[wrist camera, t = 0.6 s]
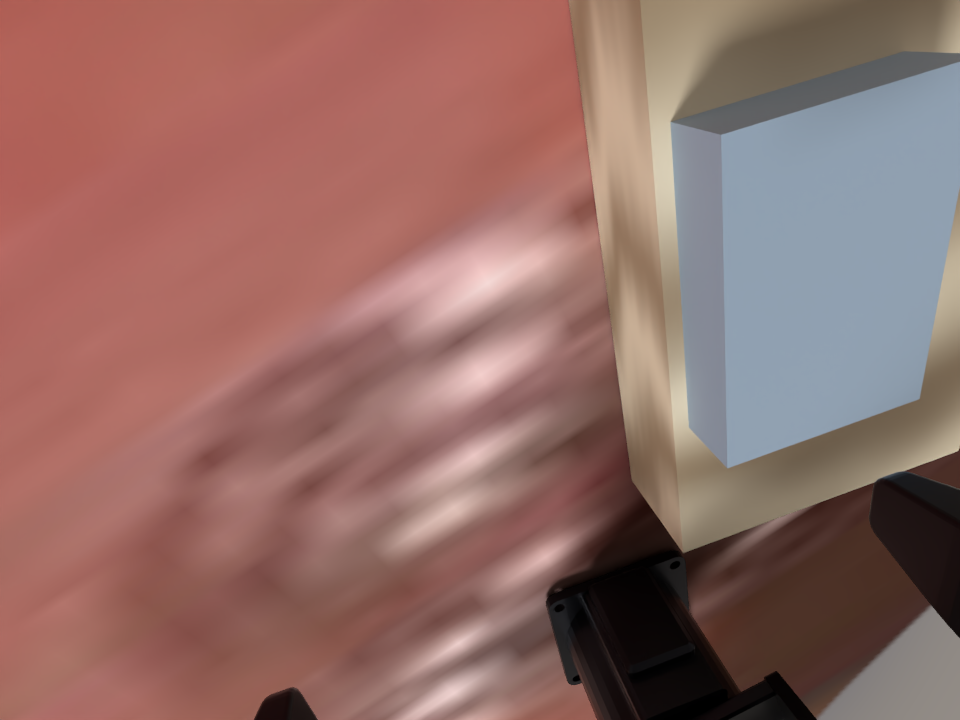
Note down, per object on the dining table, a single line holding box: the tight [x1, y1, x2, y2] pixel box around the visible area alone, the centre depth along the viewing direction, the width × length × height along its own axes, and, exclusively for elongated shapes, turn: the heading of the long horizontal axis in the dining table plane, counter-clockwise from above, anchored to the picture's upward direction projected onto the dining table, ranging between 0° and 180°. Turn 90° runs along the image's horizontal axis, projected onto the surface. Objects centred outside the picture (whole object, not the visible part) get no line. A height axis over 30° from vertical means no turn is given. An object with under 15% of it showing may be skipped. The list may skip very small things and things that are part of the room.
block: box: [670, 51, 960, 468], centre depth 15 cm, size 9×6×2 cm, turn 13°
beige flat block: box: [569, 0, 960, 553], centre depth 18 cm, size 20×11×4 cm, turn 13°
